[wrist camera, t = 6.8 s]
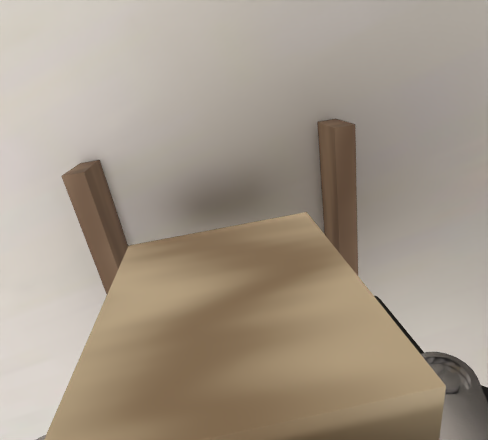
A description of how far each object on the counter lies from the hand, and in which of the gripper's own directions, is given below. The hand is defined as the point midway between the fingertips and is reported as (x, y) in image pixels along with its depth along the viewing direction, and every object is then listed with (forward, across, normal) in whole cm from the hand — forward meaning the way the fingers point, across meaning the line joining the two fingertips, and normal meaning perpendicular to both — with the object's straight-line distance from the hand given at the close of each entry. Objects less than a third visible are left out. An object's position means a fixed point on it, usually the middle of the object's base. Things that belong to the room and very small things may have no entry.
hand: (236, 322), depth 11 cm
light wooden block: (+1, 0, 0) cm, 1 cm away
